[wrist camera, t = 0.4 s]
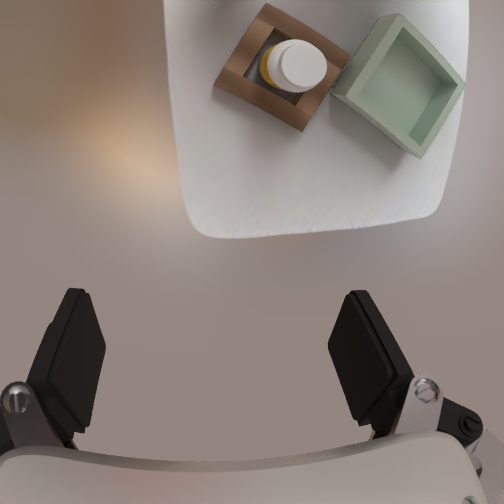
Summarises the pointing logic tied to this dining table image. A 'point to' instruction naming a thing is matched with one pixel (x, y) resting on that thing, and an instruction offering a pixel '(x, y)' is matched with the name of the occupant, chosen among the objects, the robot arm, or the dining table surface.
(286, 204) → the dining table surface
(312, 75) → the supplement bottle
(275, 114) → the holder
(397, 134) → the bin
